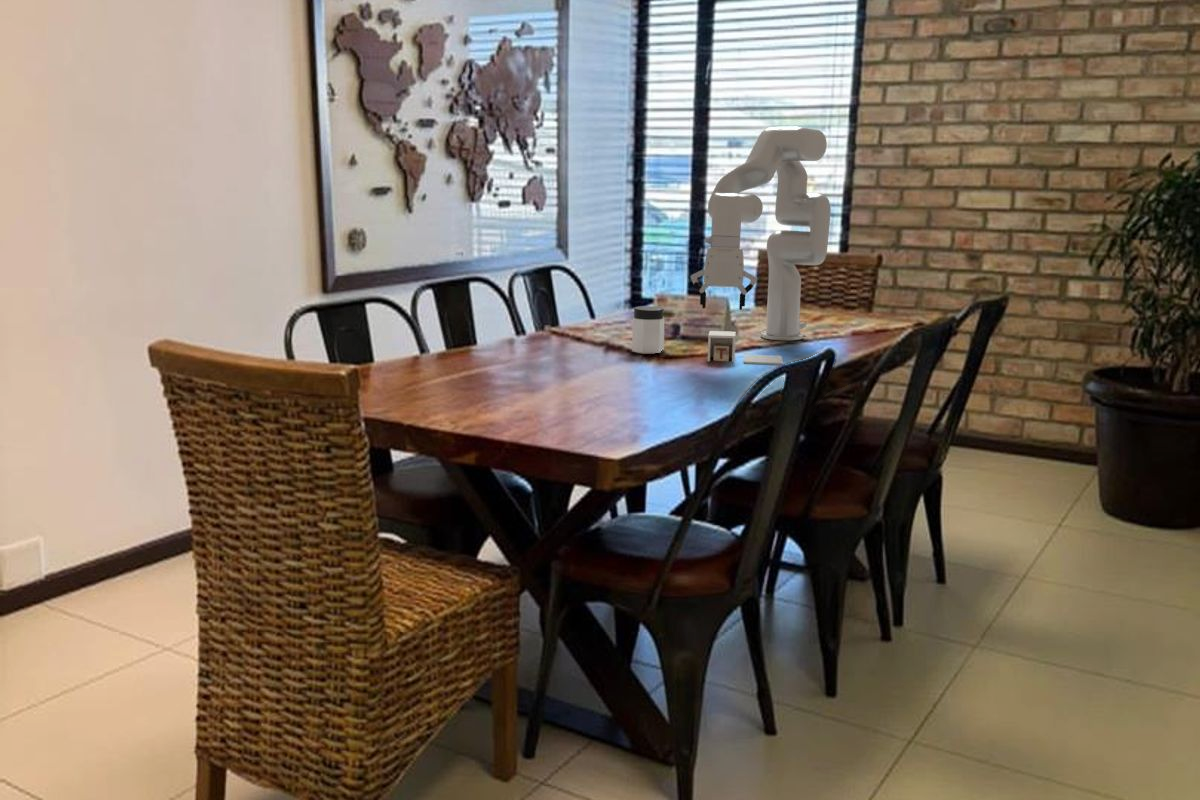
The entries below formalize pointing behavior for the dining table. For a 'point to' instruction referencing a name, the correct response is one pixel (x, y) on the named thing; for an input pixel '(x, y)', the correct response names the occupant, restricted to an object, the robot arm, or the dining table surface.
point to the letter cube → (721, 352)
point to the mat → (763, 359)
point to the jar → (648, 330)
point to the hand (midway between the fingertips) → (722, 308)
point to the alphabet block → (721, 342)
